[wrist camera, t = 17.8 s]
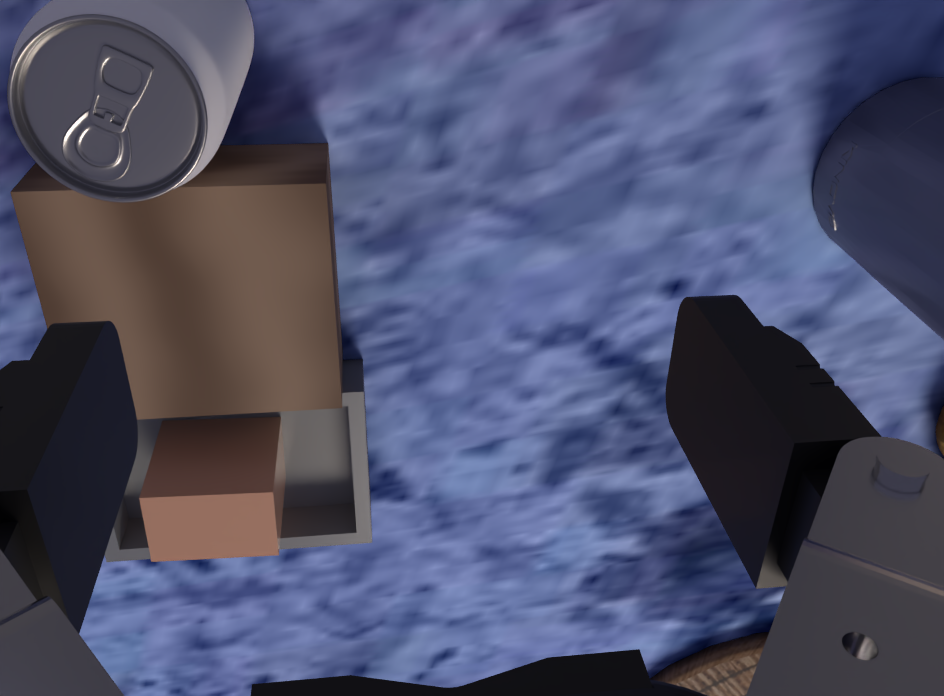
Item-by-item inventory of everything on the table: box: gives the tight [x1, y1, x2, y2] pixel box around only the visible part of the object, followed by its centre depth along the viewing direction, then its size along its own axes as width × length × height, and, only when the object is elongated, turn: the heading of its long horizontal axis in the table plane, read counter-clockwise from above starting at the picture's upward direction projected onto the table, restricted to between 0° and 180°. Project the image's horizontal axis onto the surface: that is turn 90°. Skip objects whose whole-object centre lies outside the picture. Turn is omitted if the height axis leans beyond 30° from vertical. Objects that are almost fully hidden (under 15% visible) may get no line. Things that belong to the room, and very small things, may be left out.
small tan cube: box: [139, 417, 286, 562], centre depth 44 cm, size 6×6×4 cm
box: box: [105, 359, 372, 562], centre depth 46 cm, size 14×10×3 cm
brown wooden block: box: [11, 143, 343, 420], centre depth 39 cm, size 12×11×5 cm
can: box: [7, 0, 254, 203], centre depth 31 cm, size 6×6×12 cm
